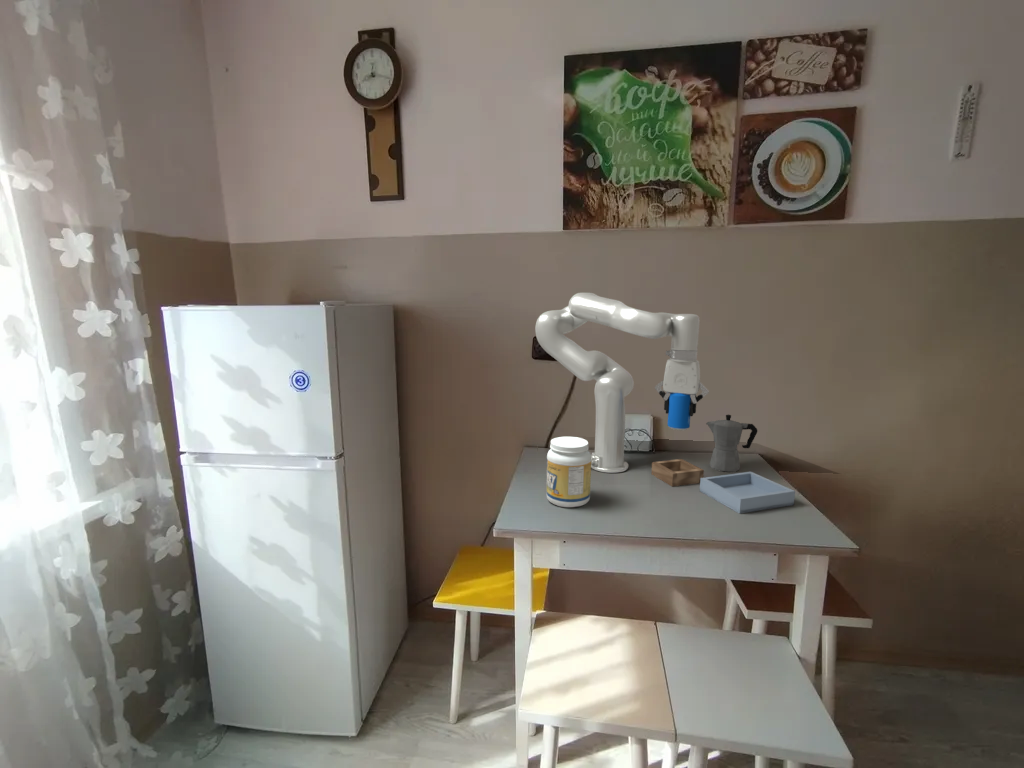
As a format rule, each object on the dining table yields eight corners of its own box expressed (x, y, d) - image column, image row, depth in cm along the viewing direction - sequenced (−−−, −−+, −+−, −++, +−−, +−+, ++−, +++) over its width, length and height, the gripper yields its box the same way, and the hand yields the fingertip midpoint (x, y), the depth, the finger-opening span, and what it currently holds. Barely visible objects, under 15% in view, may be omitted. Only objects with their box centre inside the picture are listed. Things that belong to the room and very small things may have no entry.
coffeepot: (702, 469, 165) (706, 415, 162) (703, 460, 174) (707, 409, 171) (754, 475, 159) (759, 420, 156) (753, 466, 168) (757, 414, 165)
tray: (739, 513, 132) (740, 499, 131) (699, 491, 147) (700, 478, 146) (793, 505, 137) (795, 491, 136) (749, 484, 152) (750, 471, 151)
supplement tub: (539, 495, 144) (539, 437, 141) (577, 489, 149) (578, 433, 146) (558, 511, 133) (559, 450, 130) (598, 505, 137) (600, 445, 134)
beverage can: (685, 432, 150) (688, 393, 148) (664, 428, 154) (666, 390, 152) (692, 428, 155) (695, 389, 153) (671, 424, 159) (674, 387, 157)
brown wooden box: (672, 486, 150) (672, 473, 150) (651, 474, 161) (651, 462, 160) (703, 482, 154) (703, 470, 153) (680, 470, 164) (681, 458, 163)
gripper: (651, 355, 151) (648, 413, 154) (713, 359, 143) (708, 420, 146) (656, 352, 158) (653, 408, 161) (716, 356, 150) (711, 414, 153)
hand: (679, 413), depth 154 cm, fingers closed on beverage can, 6 cm apart
